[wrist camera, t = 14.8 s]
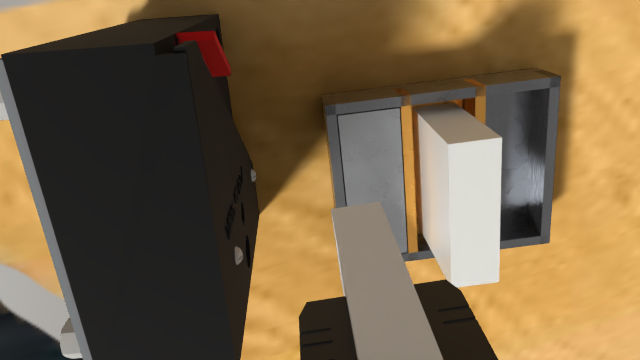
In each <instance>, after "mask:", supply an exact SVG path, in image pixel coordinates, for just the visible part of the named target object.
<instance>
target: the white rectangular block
mask: <svg viewBox="0 0 640 360" xmlns="http://www.w3.org/2000/svg"><path fill="white" fill-rule="evenodd" d="M412 111H413V132H414V152H415V173H416V193H417V214H418V226H419V228H420V230H421V232H422V234H423V236H424V238H425V240H426V241H427V243H428V245H429V247H430V249H431V251H432V253H433V255H434V257H435V258H436V260H437V262H438V264H439V266H440V268H441V270H442V272H443V274H444V275H445V277H446V279H447V281H449V282H450V283H451V284H453V285H454V286H455V287H464V286H472V285H479V284H487V283H494V282H499V259H500V212H501V165H502V137H501V136H499V135H498V134H497V133H495V132H494V131H493V130H491V129H490V128H489V127H487V126H486V125H484V124H483V123H482V122H480V121H479V120H478V119H476V118H475V117H473V116H472V115H471V114H469V113H468V112H467V111H465V110H464V109H462V108H461V107H460V106H458V105H457V104H456V103H446V104H438V105H431V106H423V107H415V108H412Z"/></svg>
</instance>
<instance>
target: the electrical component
mask: <svg viewBox="0 0 640 360" xmlns="http://www.w3.org/2000/svg"><path fill="white" fill-rule="evenodd" d="M1 57H2V58H0V120H9V121H10V124H11V127H12V130H13V134H14V137H15V140H16V143H17V147H18V150H19V153H20V156H21V160H22V163H23V166H24V169H25V173H26V176H27V179H28V182H29V186H30V189H31V192H32V195H33V199H34V202H35V205H36V208H37V212H38V215H39V218H40V221H41V225H42V228H43V231H44V234H45V238H46V241H47V244H48V247H49V251H50V254H51V257H52V260H53V264H54V267H55V270H56V273H57V276H58V280H59V283H60V286H61V289H62V293H63V296H64V299H65V302H66V305H67V309H68V312H69V315H70V318H69V319H68V320H67V322H66V323H65V325H64V327H63V328H62V331H61V340H60V347H61V351H62V354H63V355H64V356H65V357H68V358H71V359H74V358H83V360H240V358H241V350H242V343H243V335H244V327H245V320H246V312H247V304H248V297H249V289H250V281H251V274H252V266H253V258H254V251H255V243H256V235H257V228H258V220H259V210H258V202H257V194H256V186H255V180H256V177H257V175H256V172H255V171H254V170H253V164H252V161H251V159H250V157H249V155H248V153H247V150H246V148H245V146H244V144H243V142H242V140H241V137H240V135H239V133H238V131H237V129H236V127H235V124H234V122H233V118H232V110H231V103H230V96H229V88H228V81H227V76H229V75H231V69H230V65H229V63H228V61H227V58H226V56H225V54H224V51H223V44H222V36H221V29H220V22H219V14H212V15H198V16H185V17H171V18H157V19H143V20H137V21H133V22H129V23H125V24H121V25H117V26H113V27H109V28H105V29H101V30H97V31H93V32H89V33H85V34H81V35H77V36H73V37H69V38H65V39H61V40H57V41H53V42H49V43H45V44H41V45H37V46H33V47H29V48H25V49H21V50H17V51H13V52H9V53H5V54H1Z"/></svg>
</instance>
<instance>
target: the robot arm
mask: <svg viewBox="0 0 640 360" xmlns="http://www.w3.org/2000/svg"><path fill="white" fill-rule="evenodd" d="M331 213H332V220H333V227H334V234H335V240H336V247H337V254H338V261H339V268H340V275H341V282H342V288H343V294H344V297H338V298H331V299H325V300H318V301H311V302H307V303H306V305H305V307H304V308H303V310H302V312H301V314H300V316H299V330H300V357H301V360H498V358H497V357H496V355H495V353H494V351H493V349H492V347H491V345H490V344H489V342H488V340H487V338H486V336H485V334H484V332H483V331H482V329H481V327H480V325H479V323H478V321H477V320H476V319H475V316H474V314H473V312H472V310H471V308H469V305H468V303H467V301H466V299H465V297H464V295H463V294H462V292H461V290H459V289H458V288H457V287H455V286H454V285H453V284H451V283H450V282H449V281H447V280H440V281H433V282H427V283H420V284H414V285H413V282H412V280H411V277H410V275H409V272H408V270H407V267H406V265H405V262H404V260H403V257H402V255H401V252H400V250H399V247H398V245H397V242H396V240H395V237H394V235H393V232H392V230H391V227H390V225H389V222H388V220H387V217H386V215H385V212H384V210H383V207H382V205H381V202H374V203H367V204H361V205H354V206H348V207H341V208H334V209H331Z"/></svg>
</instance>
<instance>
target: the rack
mask: <svg viewBox="0 0 640 360" xmlns="http://www.w3.org/2000/svg"><path fill="white" fill-rule="evenodd" d="M560 80H561V76H559V75H556V74H553V73H550V72H547V71H544V70H541V69H538V68H532V69H524V70H516V71H508V72H500V73H492V74H484V75H476V76H468V77H460V78H452V79H444V80H436V81H428V82H420V83H412V84H404V85H396V86H388V87H380V88H372V89H364V90H356V91H348V92H340V93H332V94H324V95H322V102H323V111H324V120H325V129H326V137H327V146H328V155H329V164H330V173H331V181H332V190H333V199H334V208H341V207H348V206H354V205H361V204H367V203H374V202H381V205H382V207H383V210H384V212H385V215H386V217H387V220H388V222H389V225H390V227H391V230H392V232H393V235H394V237H395V240H396V242H397V245H398V247H399V250H400V252H401V255H402V257H403V260H404V262H405V261H413V260H421V259H429V258H435V257H434V255H433V253H432V251H431V249H430V247H429V245H428V243H427V241H426V240H425V238H424V236H423V234H422V232H421V230H420V228H419V226H418V214H417V193H416V173H415V152H414V132H413V111H412V108H415V107H423V106H431V105H438V104H446V103H456V104H457V105H458V106H460V107H461V108H462V109H464V110H465V111H467V112H468V113H469V114H471V115H472V116H473V117H475V118H476V119H478V120H479V121H480V122H482V123H483V124H484V125H486V126H487V127H489V128H490V129H491V130H493V131H494V132H495V133H497V134H498V135H499V136H501V137H502V165H501V212H500V249H506V248H514V247H522V246H529V245H537V244H545V243H549V241H550V226H551V212H552V197H553V183H554V168H555V153H556V139H557V124H558V110H559V95H560Z"/></svg>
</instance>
